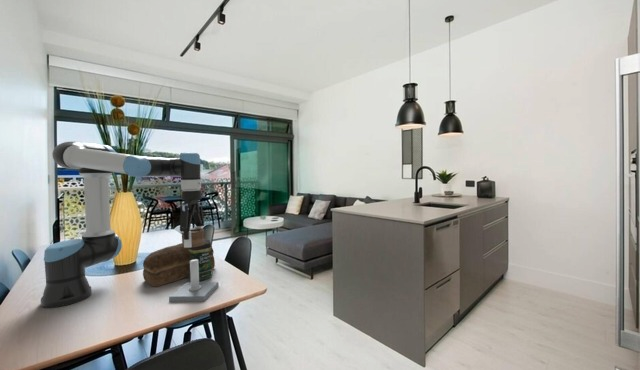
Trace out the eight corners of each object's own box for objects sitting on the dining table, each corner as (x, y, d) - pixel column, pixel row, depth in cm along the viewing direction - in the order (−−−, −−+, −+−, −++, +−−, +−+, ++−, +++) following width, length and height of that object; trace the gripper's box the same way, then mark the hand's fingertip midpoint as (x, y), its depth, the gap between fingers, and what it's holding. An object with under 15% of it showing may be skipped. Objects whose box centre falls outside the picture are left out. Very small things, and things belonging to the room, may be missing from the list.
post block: (169, 301, 105) (167, 266, 105) (187, 286, 119) (186, 255, 119) (204, 301, 105) (202, 266, 104) (218, 286, 119) (217, 255, 118)
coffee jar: (195, 283, 122) (193, 243, 121) (187, 279, 127) (185, 241, 126) (215, 277, 129) (213, 239, 129) (206, 273, 134) (205, 237, 134)
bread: (139, 281, 126) (138, 248, 125) (204, 263, 151) (203, 235, 150) (152, 289, 117) (150, 254, 116) (218, 268, 142) (217, 239, 141)
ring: (178, 247, 107) (177, 232, 107) (188, 242, 116) (188, 228, 115) (198, 247, 107) (198, 232, 107) (208, 241, 115) (207, 228, 115)
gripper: (187, 191, 100) (189, 251, 101) (211, 188, 121) (213, 237, 122) (167, 192, 100) (169, 251, 101) (194, 188, 121) (196, 238, 122)
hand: (193, 244), depth 111 cm, fingers closed on ring, 8 cm apart
